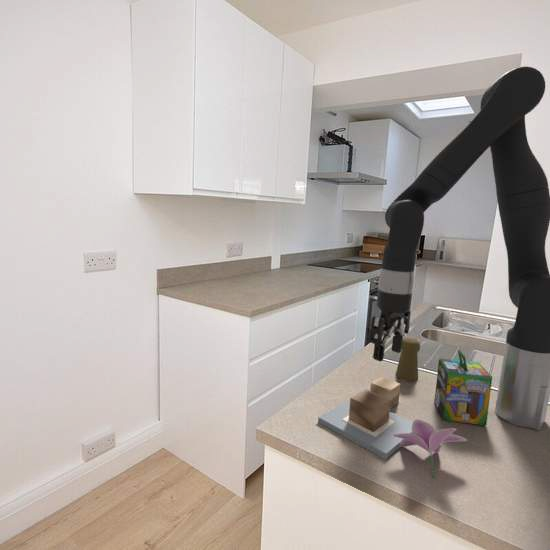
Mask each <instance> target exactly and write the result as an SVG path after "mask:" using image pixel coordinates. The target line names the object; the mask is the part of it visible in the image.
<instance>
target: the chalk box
mask: <svg viewBox="0 0 550 550" xmlns="http://www.w3.org/2000/svg"><path fill="white" fill-rule="evenodd" d="M457 353H458V358H459V359H455V358H451V359H450V358H443V357H441V358H439V359H438V366H437V377H436V382H435V384H436V386H435V394H434V398H433V399H434V400H433V401H434V404H435V406H436V409H437V410H438V412H439V415H440V417H441V419H442V421H449V422H453V423H454V422H456V423H465V424H472V425H477V426H478V425H480V426H487V423H488V415H489V405H490V400H491V399H490V398H491V391H492V384H493V383H492V382H493V375H491V374H490V373H489V372H488V370H487V369H486V368H485V367H483V365H482V364H481V363H479V362H478V361H472V360H471V361H470V360H466V356H465V354H464V353H463V352H462V350H461V349H459V348H458V349H457Z"/></svg>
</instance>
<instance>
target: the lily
mask: <svg viewBox="0 0 550 550" xmlns="http://www.w3.org/2000/svg"><path fill="white" fill-rule="evenodd" d="M412 422H413V424H412V433H413V434H412V433H404V434H396V435H393V436H395V437H399V438H402V439H405V440H404V441H403V442H402V443H401V445H400V446H401V447H400V448H406V447H411V446H419V447H420V448H422V449H424V450H425V451H426V452H428V453H429V458H430V459H429V460H430V469H431V474H432V475H431V476H432V479H435V471H434V463H433V453H435V454H438V453H440V452H441V448H442V444H444V443H450V442H467V441H468V439H467V438H465V437H463V436H459V435H458V434H453V433H454V432H455V431H457V428H455V427H454V428H453V427H452V428H441V429H437V430H436V428H435V427H434V426H433V425H431V424H430V423H429V422H427V421H424V420H423V419H422V420H421V419H414V421H412Z"/></svg>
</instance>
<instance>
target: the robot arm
mask: <svg viewBox="0 0 550 550" xmlns="http://www.w3.org/2000/svg"><path fill="white" fill-rule="evenodd" d="M545 92H546V80H545V77H544V76H543V73H542V72H541V71H540V70H538V69H536V68H534V67H532V66H519V67H515V68H513V69H511V70H509V71H507V72H505V73H504V74H502V75H501V76H500V77H498V78H497V79H496V80H495V81H494V82H493V83H492V84H491V85H489V86H488V88H487V89H485V91H484V93H483V94H482V96H481V99H480V111H479V112H478V113H477V114H476V115H475V117H474V118H473V119H472V120H471V121H470V122H469V123H468V124H467V126H465V128H464V129H462V131H461V132H460V133H459V134H458V135H457V136H455V138H454V139H452V140H451V141H450V142H449V143H448V144H447V145H446V146H444V148H443V149H441V151H440V152H439V153H438V154H437V155H436V156H435V157H434V158H433V159H432V160H431V161H430V162H429V164H427V166H426V167H425V168H424V169H423V170H422V171H421V173H420V174H419V175H417V177H416V179H414V181H413V182H412V183H411V184H410V185H409V186H408V187H407V188H406V189H405V190H403V191H402V192H401V193H400V194H399V195H398V196H397V197H396V198H395V199H394V200H393V201H392V202H391V203H390V205H388V207H387V209H386V211H385V213H384V214H385V215H384V220H385V223H386V226H388V228H389V230H388V238H387V243H386V244H385V246H384V249H383V253H382V260H381V261H382V263H381V269H380V274H379V279H378V288H377V294H376V295H377V297H376V303H375V304H376V307H377V308H378V309H380V311H381V312H380V314H379V317H378V316H377V317H376V316H372V318H371V324H370V330H369V338H368V342H369V343H371V344H374V348H373V353H372V354H373V357H372V358H373V360H375V361H376V362H377V361H378V362H383V361H384V356H385V348H386V347H385V346H386V343H387V341H388V339H390V338H391V337H392V343H391V350H392V352H394V353H397V354H399V353H400V354H401V351H402V341H403V339H404V338H406V337H405V336H406V335H408V334H409V331H410V322H411V312H412V311H411V308H412V307H411V306H412V299H413V292H414V282H415V279H414V277H415V276H414V275H415V274H414V273H415V265H416V258H417V257H416V256H417V255H416V254H417V249H418V247H419V244H420V240H421V236H422V234H423V229H424V226H425V225H424V224H425V212H426V211H427V210H428V209H429V208H430V207H431V206H432V205H433V204H435V203H437V202H439V201H440V200H441V199H442V198H444V197H445V196H446V195H447V193H448V192H450V191H451V190H452V188H453V187H454V186H456V184H457V183H458V182H459V181H460V180H461V179H462V178H463V176H464V175H465V174H466V173H467V172H468V171H469V169H470V168H471V167H472V166H473V165H474V163H476V162H477V161H478V159H480V157H481V156H482V155H484V153H485V152H486V150H488V149H489V148H490V149H489V150H490V153H491V161H492V168H493V176H494V184H495V192H496V193H495V194H496V198H497V200H496V201H497V205H498V206H497V208H498V214H499V217H500V223H501V229H502V234H503V240H504V245H505V249H506V255H507V277H508V282H507V283H508V296H509V299H510V301H511V303H512V305H514V306H515V307H516V308H517V313H516V315H515V322H514V325H513V327H511V328H509V329H508V330H507V333H506V338H505V345H504V352H503V359H502V363H501V364H502V365H501V371H500V376H499V377H500V378H499V382H498V390H497V396H496V402H495V408H494V410H495V413H496V414H497V416H498V417H499V418H501V419H503V420H504V421H506V422H508V423H510V424H513V425H516V426H519V427H522V428H523V427H524V428H528V429H529V428H531V429H535V430H538V431H540V430H541V428H542V427H543V425H544V424H545V421H546V417H547V412H548V411H547V410H548V405H549V400H550V271H549V266H548V262H547V257H546V240H547V235H548V231H549V227H550V188H549V182H548V178H547V175H546V173H545V171H544V169H543V167H542V165H541V164H540V162H539V161H538V159H537V158H536V156H535V154H534V153H533V151H532V148H531V147H530V145H529V140H528V136H527V129H526V115H527V114H529V113H531V112H532V111H533V110H534V109H535V108H536V107H537V106H538V105H539V104H540V102H541V101H542V99H543V97H544V95H545ZM392 335H393V336H392Z"/></svg>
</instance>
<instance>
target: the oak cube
mask: <svg viewBox="0 0 550 550" xmlns="http://www.w3.org/2000/svg"><path fill="white" fill-rule="evenodd" d="M369 391H372V392H374V393H377V394H379V395H381V396H384V397H386V398H388V399H391V403H390V409H392V408H393V407H394V406H396V405H397V404H399V402H400V401H399V400H400V392H401V383H400V382H397V381H394V380H392V379H389V378H386V377H383V376H380V377H378V378H377V379H375V380H373V381H371V382H370V390H369Z"/></svg>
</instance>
